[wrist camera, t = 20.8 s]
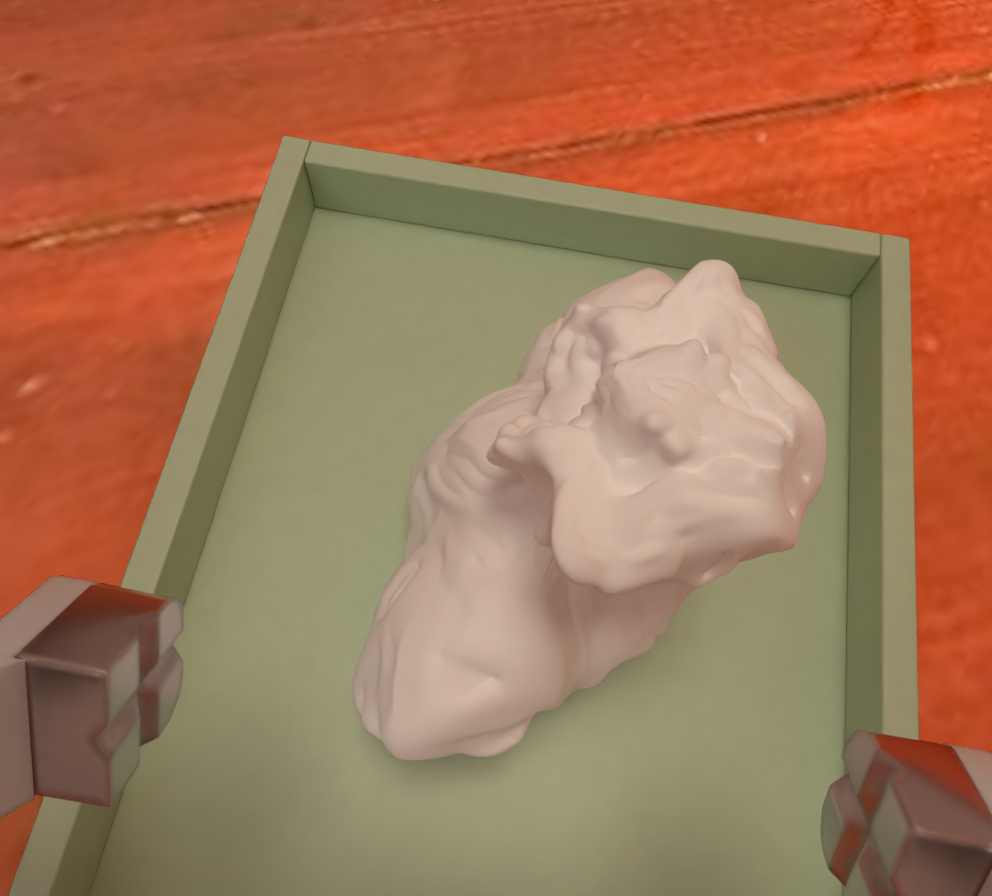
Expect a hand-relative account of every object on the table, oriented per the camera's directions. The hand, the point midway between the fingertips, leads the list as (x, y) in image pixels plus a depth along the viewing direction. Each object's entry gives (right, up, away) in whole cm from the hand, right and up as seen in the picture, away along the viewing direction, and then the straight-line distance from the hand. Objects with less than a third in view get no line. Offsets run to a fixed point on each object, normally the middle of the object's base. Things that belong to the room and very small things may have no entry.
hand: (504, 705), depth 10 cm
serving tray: (0, -1, +11) cm, 11 cm away
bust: (+1, 0, +11) cm, 11 cm away
